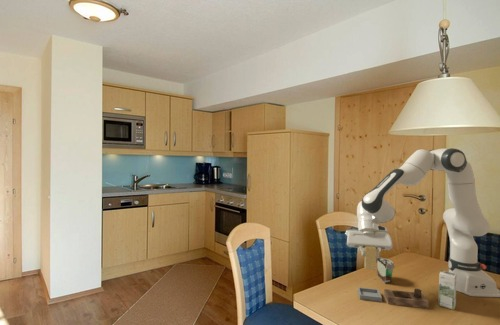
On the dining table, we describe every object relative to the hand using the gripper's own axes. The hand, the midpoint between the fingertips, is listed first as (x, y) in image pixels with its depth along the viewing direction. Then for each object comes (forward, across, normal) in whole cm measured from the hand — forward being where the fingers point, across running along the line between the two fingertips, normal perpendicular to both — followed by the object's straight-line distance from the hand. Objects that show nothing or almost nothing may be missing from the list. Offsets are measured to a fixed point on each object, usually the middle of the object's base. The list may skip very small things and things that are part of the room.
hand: (370, 256), depth 134 cm
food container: (-2, +12, +30) cm, 32 cm away
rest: (+13, 0, +14) cm, 19 cm away
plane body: (+14, +15, +13) cm, 24 cm away
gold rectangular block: (+4, 0, +4) cm, 6 cm away
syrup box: (+13, +32, +14) cm, 37 cm away
